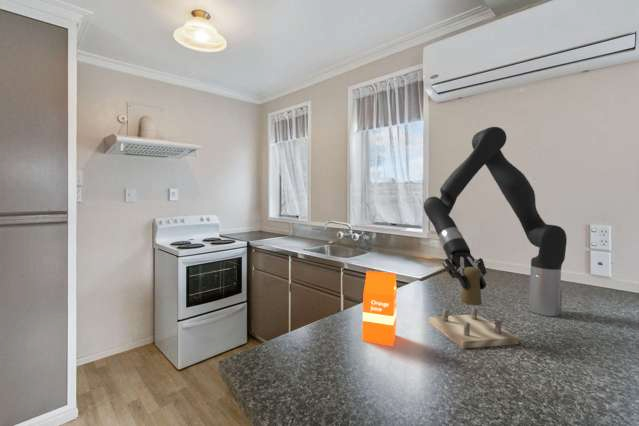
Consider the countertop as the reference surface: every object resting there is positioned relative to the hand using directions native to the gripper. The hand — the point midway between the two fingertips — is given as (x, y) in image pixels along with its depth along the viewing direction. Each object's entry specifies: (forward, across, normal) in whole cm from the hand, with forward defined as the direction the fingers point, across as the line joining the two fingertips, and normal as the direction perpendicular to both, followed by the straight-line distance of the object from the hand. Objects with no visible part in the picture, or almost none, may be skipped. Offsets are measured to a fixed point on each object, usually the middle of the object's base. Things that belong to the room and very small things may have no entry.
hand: (475, 288), depth 94 cm
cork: (+2, 0, +5) cm, 6 cm away
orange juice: (+9, -30, +13) cm, 34 cm away
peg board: (+9, 0, +12) cm, 15 cm away
